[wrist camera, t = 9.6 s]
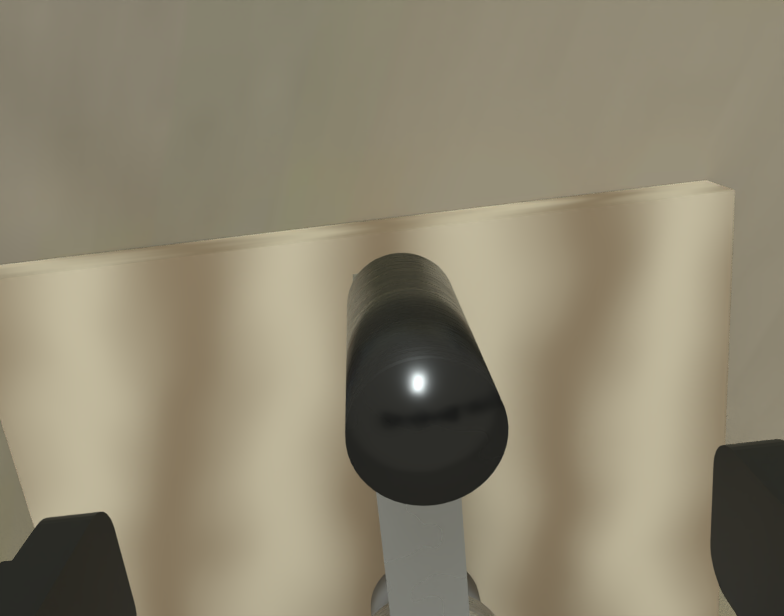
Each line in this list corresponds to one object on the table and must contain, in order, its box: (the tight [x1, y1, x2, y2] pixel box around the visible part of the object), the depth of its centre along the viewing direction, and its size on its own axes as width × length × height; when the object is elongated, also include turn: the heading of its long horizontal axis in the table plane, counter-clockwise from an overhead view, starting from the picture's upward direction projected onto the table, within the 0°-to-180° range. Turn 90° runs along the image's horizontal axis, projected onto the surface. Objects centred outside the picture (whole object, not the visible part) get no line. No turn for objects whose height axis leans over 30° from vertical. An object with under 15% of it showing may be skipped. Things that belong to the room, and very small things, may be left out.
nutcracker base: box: [0, 180, 735, 616], centre depth 25 cm, size 24×23×7 cm
